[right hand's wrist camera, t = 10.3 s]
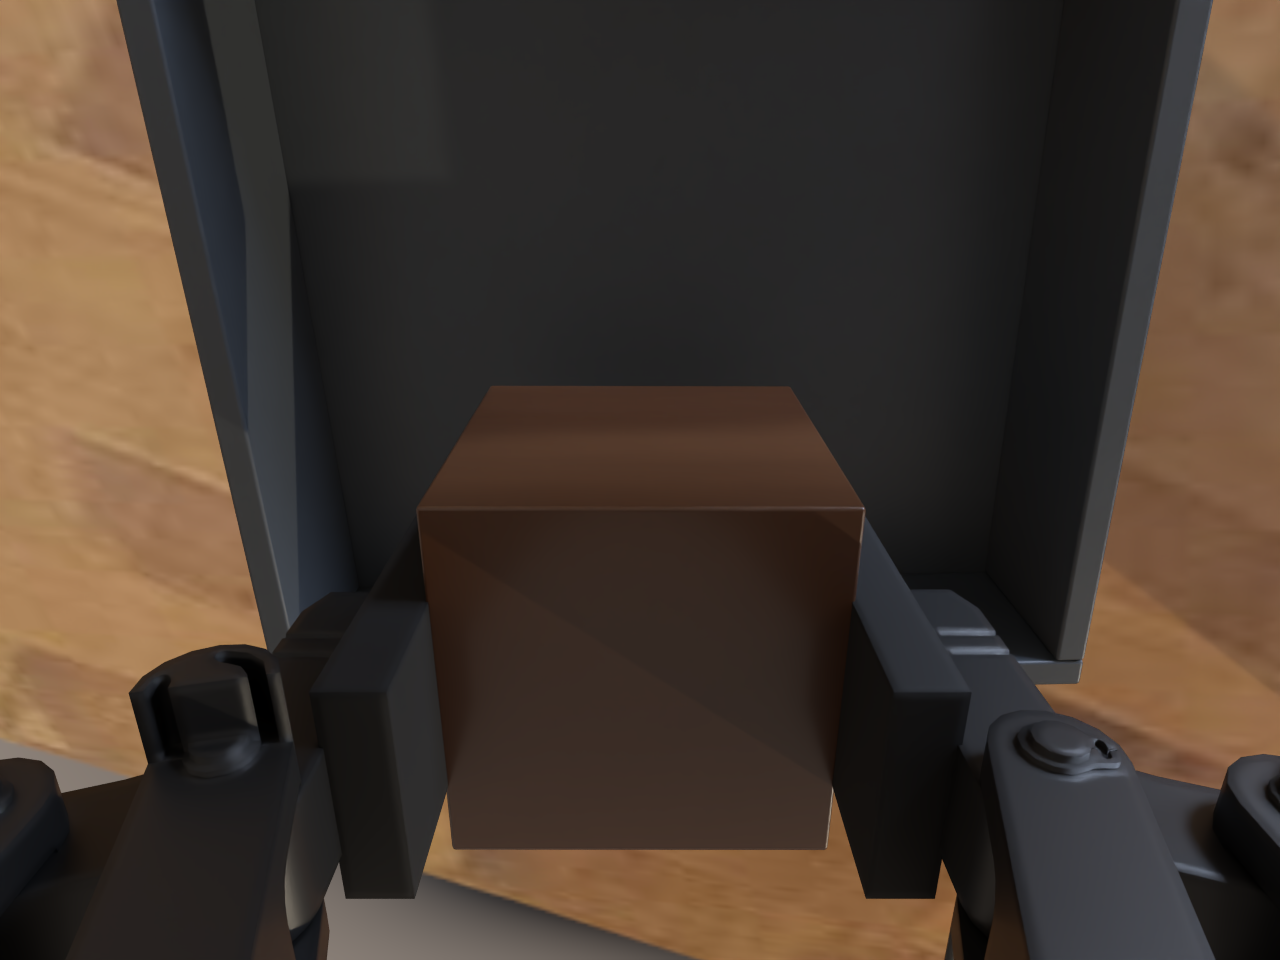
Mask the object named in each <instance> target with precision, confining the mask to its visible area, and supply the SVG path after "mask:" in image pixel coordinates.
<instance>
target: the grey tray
mask: <svg viewBox="0 0 1280 960" xmlns="http://www.w3.org/2000/svg"><path fill="white" fill-rule="evenodd" d="M1212 3H1213V0H117V5H118V9H119V13H120V18H121V22H122V26H123V31H124V35H125V39H126V44H127V48H128V52H129V56H130V61H131V65H132V69H133V74H134V78H135V82H136V87H137V91H138V95H139V99H140V104H141V108H142V112H143V117H144V121H145V125H146V130H147V134H148V138H149V142H150V147H151V151H152V155H153V160H154V164H155V168H156V173H157V177H158V181H159V185H160V190H161V194H162V198H163V203H164V207H165V211H166V216H167V220H168V224H169V229H170V233H171V237H172V241H173V246H174V250H175V254H176V259H177V263H178V267H179V272H180V276H181V280H182V284H183V289H184V293H185V297H186V302H187V306H188V310H189V315H190V319H191V323H192V327H193V332H194V336H195V340H196V345H197V349H198V353H199V358H200V362H201V366H202V370H203V375H204V379H205V383H206V388H207V392H208V396H209V401H210V405H211V409H212V414H213V418H214V422H215V426H216V431H217V435H218V439H219V444H220V448H221V452H222V457H223V461H224V465H225V469H226V474H227V478H228V482H229V487H230V491H231V495H232V500H233V504H234V508H235V512H236V517H237V521H238V525H239V530H240V534H241V538H242V543H243V547H244V551H245V555H246V560H247V564H248V568H249V573H250V577H251V581H252V586H253V590H254V594H255V599H256V603H257V607H258V611H259V616H260V620H261V624H262V629H263V633H264V637H265V642H266V646H267V650H268V651H269V652H270V653H271V654H272V652H273V651H274V649H275V648H276V647H277V645H278V644H279V642H280V641H281V640H282V638H286V633H287V631H288V630H289V629H290V627H291V626H292V625H293V623H294V622H295V620H296V619H297V618H298V616H299V615H300V613H301V612H302V611H303V610H305V609H306V608H308V607H309V606H311V605H312V604H314V603H315V602H317V601H318V600H320V599H321V598H323V597H324V596H326V595H327V594H329V593H330V592H370V590H371V589H372V587H373V585H374V584H375V582H376V580H377V579H378V577H379V576H380V574H381V572H382V571H383V569H384V567H385V566H386V564H387V562H388V561H389V559H390V557H391V556H392V554H393V552H394V551H395V549H396V547H397V546H398V544H399V542H400V541H401V539H402V537H403V536H404V534H405V533H406V531H407V529H408V528H409V526H410V524H411V523H412V521H413V519H414V518H415V516H416V514H417V513H416V509H417V506H418V504H419V503H420V501H421V499H422V498H423V496H424V495H425V493H426V491H427V490H428V488H429V486H430V485H431V483H432V481H433V480H434V478H435V476H436V475H437V473H438V472H439V470H440V468H441V467H442V465H443V463H444V462H445V460H446V458H447V457H448V455H449V454H450V452H451V450H452V449H453V447H454V445H455V444H456V442H457V440H458V439H459V437H460V436H461V434H462V432H463V431H464V429H465V427H466V426H467V424H468V422H469V421H470V419H471V418H472V416H473V414H474V413H475V411H476V409H477V408H478V406H479V404H480V403H481V401H482V399H483V398H484V396H485V395H486V393H487V391H488V390H489V388H490V387H491V386H788V387H790V388H791V389H792V391H793V392H794V394H795V396H796V397H797V399H798V400H799V402H800V404H801V405H802V407H803V408H804V410H805V412H806V413H807V415H808V417H809V418H810V420H811V421H812V423H813V425H814V426H815V428H816V429H817V431H818V433H819V434H820V436H821V437H822V439H823V441H824V442H825V444H826V446H827V447H828V449H829V450H830V452H831V454H832V455H833V457H834V458H835V460H836V462H837V463H838V465H839V467H840V468H841V470H842V471H843V473H844V475H845V476H846V478H847V479H848V481H849V483H850V484H851V486H852V487H853V489H854V491H855V492H856V494H857V496H858V497H859V499H860V500H861V502H862V504H863V505H864V507H865V509H866V512H865V517H866V518H867V520H868V522H869V523H870V525H871V527H872V528H873V530H874V531H875V533H876V535H877V536H878V538H879V540H880V541H881V543H882V545H883V546H884V548H885V550H886V551H887V553H888V555H889V556H890V558H891V560H892V561H893V563H894V565H895V566H896V568H897V570H898V571H899V573H900V574H901V576H902V578H903V579H904V581H905V583H906V584H907V586H908V588H909V589H950V590H952V591H953V592H955V593H956V594H958V595H959V596H961V597H962V598H964V599H965V600H967V601H968V602H970V603H971V604H973V605H974V606H976V607H977V608H979V609H980V611H981V612H982V613H983V615H984V616H985V617H986V619H987V620H988V622H989V623H990V624H991V626H992V627H993V628H994V630H995V634H996V636H999V637H1000V638H1001V639H1002V641H1003V642H1004V644H1005V645H1006V646H1007V648H1008V649H1009V654H1013V656H1014V657H1015V659H1016V660H1017V661H1018V663H1019V664H1020V665H1021V667H1022V668H1023V670H1024V671H1025V672H1026V674H1027V675H1028V676H1029V678H1030V679H1031V680H1032V682H1033V683H1034V685H1035V684H1076V683H1078V682H1079V679H1080V674H1081V669H1082V664H1083V662H1082V660H1081V659H1083V658H1084V654H1085V649H1086V644H1087V639H1088V634H1089V629H1090V624H1091V618H1092V613H1093V608H1094V603H1095V598H1096V593H1097V588H1098V583H1099V578H1100V573H1101V568H1102V562H1103V557H1104V552H1105V547H1106V542H1107V537H1108V532H1109V527H1110V522H1111V517H1112V512H1113V507H1114V501H1115V496H1116V491H1117V486H1118V481H1119V476H1120V471H1121V466H1122V461H1123V456H1124V451H1125V445H1126V440H1127V435H1128V430H1129V425H1130V420H1131V415H1132V410H1133V405H1134V400H1135V395H1136V389H1137V384H1138V379H1139V374H1140V369H1141V364H1142V359H1143V354H1144V349H1145V344H1146V339H1147V334H1148V328H1149V323H1150V318H1151V313H1152V308H1153V303H1154V298H1155V293H1156V288H1157V283H1158V278H1159V272H1160V267H1161V262H1162V257H1163V252H1164V247H1165V242H1166V237H1167V232H1168V227H1169V222H1170V217H1171V211H1172V206H1173V201H1174V196H1175V191H1176V186H1177V181H1178V176H1179V171H1180V166H1181V161H1182V155H1183V150H1184V145H1185V140H1186V135H1187V130H1188V125H1189V120H1190V115H1191V110H1192V105H1193V100H1194V94H1195V89H1196V84H1197V79H1198V74H1199V69H1200V64H1201V59H1202V54H1203V49H1204V44H1205V38H1206V33H1207V28H1208V23H1209V18H1210V13H1211V8H1212Z"/></svg>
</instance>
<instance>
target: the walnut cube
mask: <svg viewBox="0 0 1280 960" xmlns="http://www.w3.org/2000/svg"><path fill="white" fill-rule="evenodd" d="M865 512H866V509H865V507H864V505H863V504H862V502H861V500H860V499H859V497H858V496H857V494H856V492H855V491H854V489H853V487H852V486H851V484H850V483H849V481H848V479H847V478H846V476H845V475H844V473H843V471H842V470H841V468H840V467H839V465H838V463H837V462H836V460H835V458H834V457H833V455H832V454H831V452H830V450H829V449H828V447H827V446H826V444H825V442H824V441H823V439H822V437H821V436H820V434H819V433H818V431H817V429H816V428H815V426H814V425H813V423H812V421H811V420H810V418H809V417H808V415H807V413H806V412H805V410H804V408H803V407H802V405H801V404H800V402H799V400H798V399H797V397H796V396H795V394H794V392H793V391H792V389H791V388H790V387H788V386H491V387H490V388H489V390H488V391H487V393H486V395H485V396H484V398H483V399H482V401H481V403H480V404H479V406H478V408H477V409H476V411H475V413H474V414H473V416H472V418H471V419H470V421H469V422H468V424H467V426H466V427H465V429H464V431H463V432H462V434H461V436H460V437H459V439H458V440H457V442H456V444H455V445H454V447H453V449H452V450H451V452H450V454H449V455H448V457H447V458H446V460H445V462H444V463H443V465H442V467H441V468H440V470H439V472H438V473H437V475H436V476H435V478H434V480H433V481H432V483H431V485H430V486H429V488H428V490H427V491H426V493H425V495H424V496H423V498H422V499H421V501H420V503H419V504H418V506H417V509H416V513H417V522H418V531H419V540H420V550H421V559H422V568H423V577H424V587H425V596H426V602H428V605H429V615H430V624H431V633H432V642H433V651H434V660H435V669H436V679H437V688H438V697H439V706H440V715H441V724H442V733H443V743H444V752H445V761H446V770H447V779H448V789H447V800H448V809H449V818H450V827H451V837H452V845H453V848H454V849H528V850H825V849H826V848H827V846H828V837H829V828H830V819H831V810H832V802H833V793H834V790H833V787H832V783H833V774H834V765H835V756H836V747H837V738H838V729H839V720H840V711H841V702H842V693H843V684H844V675H845V665H846V656H847V647H848V638H849V629H850V620H851V611H852V602H855V600H856V591H857V583H858V574H859V565H860V556H861V547H862V539H863V530H864V521H865Z"/></svg>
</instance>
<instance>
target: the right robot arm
mask: <svg viewBox="0 0 1280 960" xmlns="http://www.w3.org/2000/svg"><path fill="white" fill-rule="evenodd" d="M129 696H130V700H131V703H132V707H133V710H134V714H135V718H136V721H137V725H138V729H139V732H140V736H141V740H142V743H143V747H144V750H145V754H146V758H147V761H148V765H147V768H146V770H145V773H144V774H143V775H140V776H136V777H133V778H129V779H125V780H121V781H116V782H112V783H107V784H102V785H98V786H93V787H88V788H84V789H79V790H74V791H69V792H65V793H61V791H60V788H59V785H58V782H57V779H56V776H55V773H54V771H53V770H52V769H51V768H49V767H48V766H47V765H46V764H44V763H43V762H42V761H39V760H32V759H25V758H12V759H3V760H0V960H327V950H328V940H329V925H328V919H327V913H326V907H325V902H324V896H325V894H326V892H327V889H328V887H329V884H330V882H331V880H332V877H333V875H334V873H335V870H336V868H337V865H338V863H339V864H340V869H341V875H342V880H343V886H344V892H345V897H346V899H414V898H415V896H416V892H417V889H418V886H419V882H420V879H421V876H422V872H423V869H424V866H425V862H426V859H427V856H428V852H429V849H430V846H431V842H432V839H433V835H434V832H435V829H436V825H437V822H438V819H439V815H440V812H441V809H442V805H443V802H444V799H445V795H446V792H447V789H448V779H447V770H446V761H445V752H444V743H443V733H442V724H441V715H440V706H439V697H438V688H437V679H436V669H435V660H434V651H433V642H432V633H431V624H430V615H429V605H428V602H426V596H425V587H424V577H423V568H422V559H421V550H420V540H419V531H418V522H417V514H416V516H415V518H414V519H413V521H412V523H411V524H410V526H409V528H408V529H407V531H406V533H405V534H404V536H403V537H402V539H401V541H400V542H399V544H398V546H397V547H396V549H395V551H394V552H393V554H392V556H391V557H390V559H389V561H388V562H387V564H386V566H385V567H384V569H383V571H382V572H381V574H380V576H379V577H378V579H377V580H376V582H375V584H374V585H373V587H372V589H371V590H370V592H330V593H329V594H327V595H326V596H324V597H323V598H321V599H320V600H318V601H317V602H315V603H314V604H312V605H311V606H309V607H308V608H306V609H305V610H303V611H302V612H301V613H300V615H299V616H298V618H297V619H296V620H295V622H294V623H293V625H292V626H291V627H290V629H289V630H288V631H287V633H286V638H282V640H281V641H280V642H279V644H278V645H277V647H276V648H275V649H274V651H273V652H272V654H271V653H270V652H269V651H268V650H266V649H264V648H259V647H255V646H251V645H246V644H241V645H218V646H214V647H209V648H204V649H200V650H195V651H191V652H189V653H186V654H184V655H181V656H179V657H176V658H174V659H171V660H169V661H166V662H164V663H163V664H161V665H160V666H158V667H157V668H155V669H154V670H152V671H151V672H149V673H147V674H146V675H144V676H143V677H142V678H141V679H140V680H139V681H138V683H137V684H136V685H135V686H134V687H133V689H132V690H131V691H130V692H129ZM832 787H833V790H834V793H835V797H836V800H837V803H838V807H839V810H840V813H841V817H842V820H843V823H844V827H845V830H846V833H847V837H848V840H849V844H850V847H851V850H852V854H853V857H854V860H855V864H856V867H857V870H858V874H859V877H860V880H861V884H862V887H863V890H864V894H865V897H866V899H935V895H936V889H937V884H938V878H939V873H940V867H941V862H942V860H943V862H944V864H945V867H946V869H947V872H948V874H949V876H950V879H951V881H952V883H953V886H954V888H955V891H956V893H957V897H956V902H955V907H954V912H953V918H952V923H951V928H950V933H949V938H948V944H947V949H946V954H945V959H944V960H1280V756H1275V755H1267V754H1261V755H1254V756H1247V757H1241V758H1239V759H1238V760H1237V761H1236V762H1234V763H1233V764H1232V765H1231V766H1229V767H1228V770H1227V773H1226V776H1225V779H1224V782H1223V785H1222V788H1221V790H1219V789H1214V788H1209V787H1204V786H1200V785H1195V784H1190V783H1186V782H1181V781H1176V780H1171V779H1167V778H1162V777H1157V776H1154V775H1150V774H1146V773H1143V772H1139V771H1136V770H1135V769H1134V766H1133V764H1132V762H1131V761H1130V759H1129V758H1128V757H1127V755H1126V754H1125V752H1124V751H1123V750H1122V748H1121V747H1120V745H1118V744H1117V743H1116V742H1115V741H1113V740H1112V739H1111V738H1109V737H1108V736H1107V735H1105V734H1104V733H1103V732H1101V731H1100V730H1099V729H1097V728H1094V727H1092V726H1090V725H1088V724H1086V723H1084V722H1082V721H1079V720H1077V719H1075V718H1073V717H1069V716H1065V715H1061V714H1057V713H1055V712H1054V711H1053V709H1052V708H1051V707H1050V705H1049V704H1048V702H1047V701H1046V700H1045V698H1044V697H1043V696H1042V694H1041V693H1040V691H1039V690H1038V689H1037V687H1036V686H1035V685H1034V683H1033V682H1032V680H1031V679H1030V678H1029V676H1028V675H1027V674H1026V672H1025V671H1024V670H1023V668H1022V667H1021V665H1020V664H1019V663H1018V661H1017V660H1016V659H1015V657H1014V656H1013V654H1009V649H1008V648H1007V646H1006V645H1005V644H1004V642H1003V641H1002V639H1001V638H1000V637H999V636H996V634H995V630H994V628H993V627H992V626H991V624H990V623H989V622H988V620H987V619H986V617H985V616H984V615H983V613H982V612H981V611H980V609H979V608H977V607H976V606H974V605H973V604H971V603H970V602H968V601H967V600H965V599H964V598H962V597H961V596H959V595H958V594H956V593H955V592H953V591H952V590H950V589H909V588H908V586H907V584H906V583H905V581H904V579H903V578H902V576H901V574H900V573H899V571H898V570H897V568H896V566H895V565H894V563H893V561H892V560H891V558H890V556H889V555H888V553H887V551H886V550H885V548H884V546H883V545H882V543H881V541H880V540H879V538H878V536H877V535H876V533H875V531H874V530H873V528H872V527H871V525H870V523H869V522H868V520H867V518H866V517H865V521H864V530H863V539H862V547H861V556H860V565H859V574H858V583H857V591H856V600H855V602H852V611H851V620H850V629H849V638H848V647H847V656H846V665H845V675H844V684H843V693H842V702H841V711H840V720H839V729H838V738H837V747H836V756H835V765H834V774H833V783H832Z"/></svg>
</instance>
